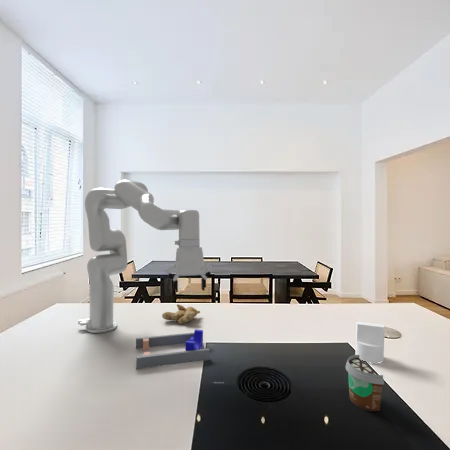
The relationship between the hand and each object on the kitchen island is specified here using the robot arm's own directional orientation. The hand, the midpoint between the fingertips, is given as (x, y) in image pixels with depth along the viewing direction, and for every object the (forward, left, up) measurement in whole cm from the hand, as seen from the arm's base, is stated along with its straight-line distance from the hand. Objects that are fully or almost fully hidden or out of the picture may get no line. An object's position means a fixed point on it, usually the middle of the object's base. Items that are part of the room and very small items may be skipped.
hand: (189, 290), depth 110 cm
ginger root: (+3, +31, -22) cm, 39 cm away
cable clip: (+1, -2, -22) cm, 22 cm away
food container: (+38, -43, -22) cm, 61 cm away
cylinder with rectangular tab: (+60, -23, -22) cm, 68 cm away
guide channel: (-7, -2, -22) cm, 23 cm away
